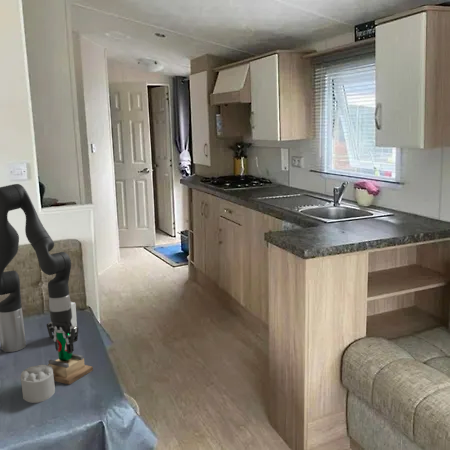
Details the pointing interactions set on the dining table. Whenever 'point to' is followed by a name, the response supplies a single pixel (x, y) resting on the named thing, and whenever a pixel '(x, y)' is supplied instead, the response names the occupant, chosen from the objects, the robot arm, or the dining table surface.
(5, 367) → the dining table surface
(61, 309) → the robot arm
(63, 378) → the display stand
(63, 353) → the soda can
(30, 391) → the white cylindrical tub
